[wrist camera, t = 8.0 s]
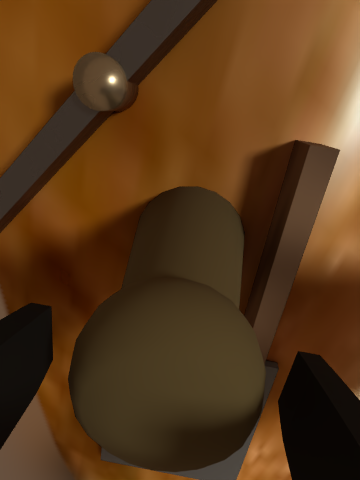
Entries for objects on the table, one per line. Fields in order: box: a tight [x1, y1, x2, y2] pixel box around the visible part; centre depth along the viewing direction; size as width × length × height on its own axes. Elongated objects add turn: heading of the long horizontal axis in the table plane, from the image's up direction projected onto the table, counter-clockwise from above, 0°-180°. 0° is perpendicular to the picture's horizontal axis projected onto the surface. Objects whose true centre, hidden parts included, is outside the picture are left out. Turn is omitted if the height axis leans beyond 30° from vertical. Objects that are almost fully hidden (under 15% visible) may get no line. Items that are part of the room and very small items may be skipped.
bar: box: [0, 0, 217, 233], centre depth 13 cm, size 19×2×2 cm, turn 131°
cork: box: [68, 187, 266, 472], centre depth 12 cm, size 6×6×11 cm
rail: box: [244, 140, 340, 364], centre depth 16 cm, size 12×1×2 cm, turn 171°
